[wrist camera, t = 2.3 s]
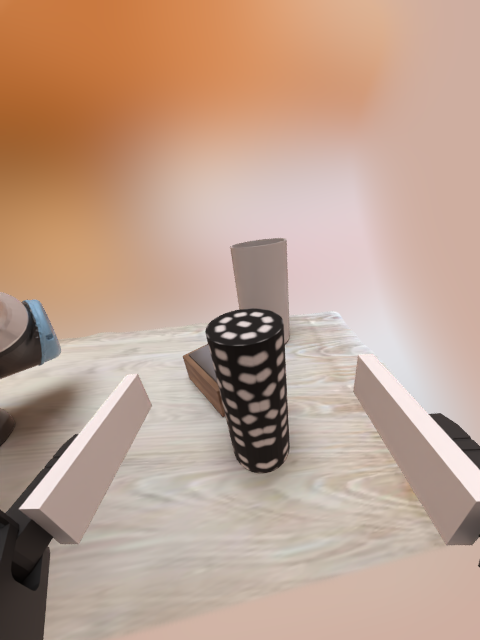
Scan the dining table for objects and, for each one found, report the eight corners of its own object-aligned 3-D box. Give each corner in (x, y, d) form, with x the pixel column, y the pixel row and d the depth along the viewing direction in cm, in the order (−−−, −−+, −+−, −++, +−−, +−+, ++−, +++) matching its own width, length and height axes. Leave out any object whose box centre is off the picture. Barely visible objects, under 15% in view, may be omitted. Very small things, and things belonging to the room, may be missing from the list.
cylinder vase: (288, 351, 50) (284, 243, 39) (239, 350, 53) (222, 250, 42) (290, 327, 60) (287, 236, 49) (249, 327, 64) (237, 242, 53)
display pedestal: (223, 417, 35) (216, 389, 33) (189, 378, 46) (182, 354, 43) (279, 376, 42) (277, 350, 40) (238, 350, 53) (235, 328, 50)
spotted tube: (222, 451, 30) (189, 334, 21) (252, 410, 36) (236, 304, 27) (272, 487, 25) (255, 355, 17) (298, 433, 31) (296, 314, 22)
